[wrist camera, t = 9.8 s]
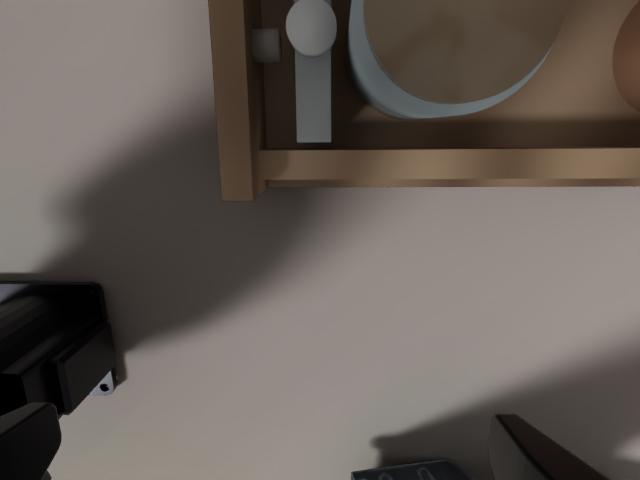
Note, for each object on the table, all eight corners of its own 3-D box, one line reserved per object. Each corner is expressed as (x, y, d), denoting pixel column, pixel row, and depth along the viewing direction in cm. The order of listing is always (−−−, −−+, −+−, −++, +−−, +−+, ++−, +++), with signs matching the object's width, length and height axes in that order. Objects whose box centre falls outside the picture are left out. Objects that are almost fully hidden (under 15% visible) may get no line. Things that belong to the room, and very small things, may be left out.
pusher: (301, 139, 19) (288, 143, 14) (297, -41, 17) (282, -109, 12) (336, 138, 19) (336, 142, 14) (336, -42, 17) (336, -111, 12)
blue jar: (345, 120, 19) (351, 115, 11) (346, -20, 17) (354, -136, 10) (471, 119, 19) (566, 113, 11) (482, -23, 17) (601, -144, 10)
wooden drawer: (245, 185, 20) (221, 201, 16) (230, -94, 17) (197, -165, 13) (713, 184, 20) (818, 200, 15) (782, -110, 17) (935, -191, 12)
